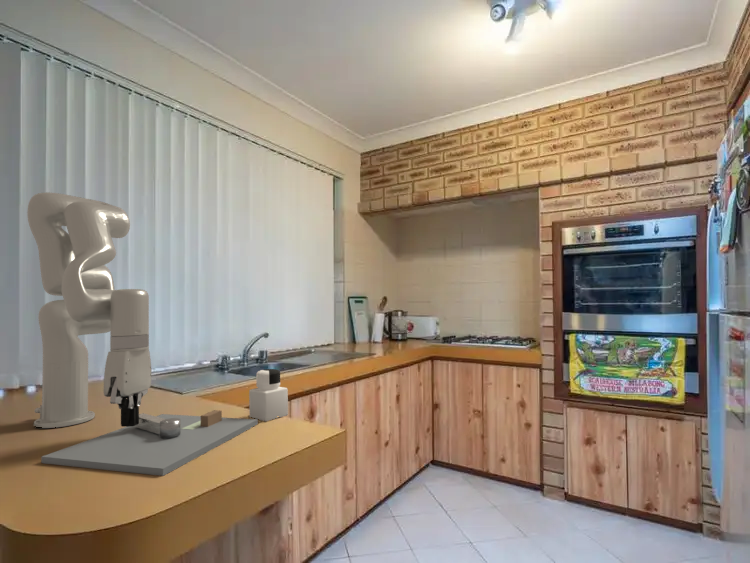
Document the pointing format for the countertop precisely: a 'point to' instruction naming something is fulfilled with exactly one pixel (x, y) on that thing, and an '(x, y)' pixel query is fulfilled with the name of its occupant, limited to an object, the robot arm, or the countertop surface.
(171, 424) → the swing bar
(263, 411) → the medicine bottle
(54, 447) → the countertop surface
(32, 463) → the countertop surface
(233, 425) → the latch plate
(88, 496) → the countertop surface
